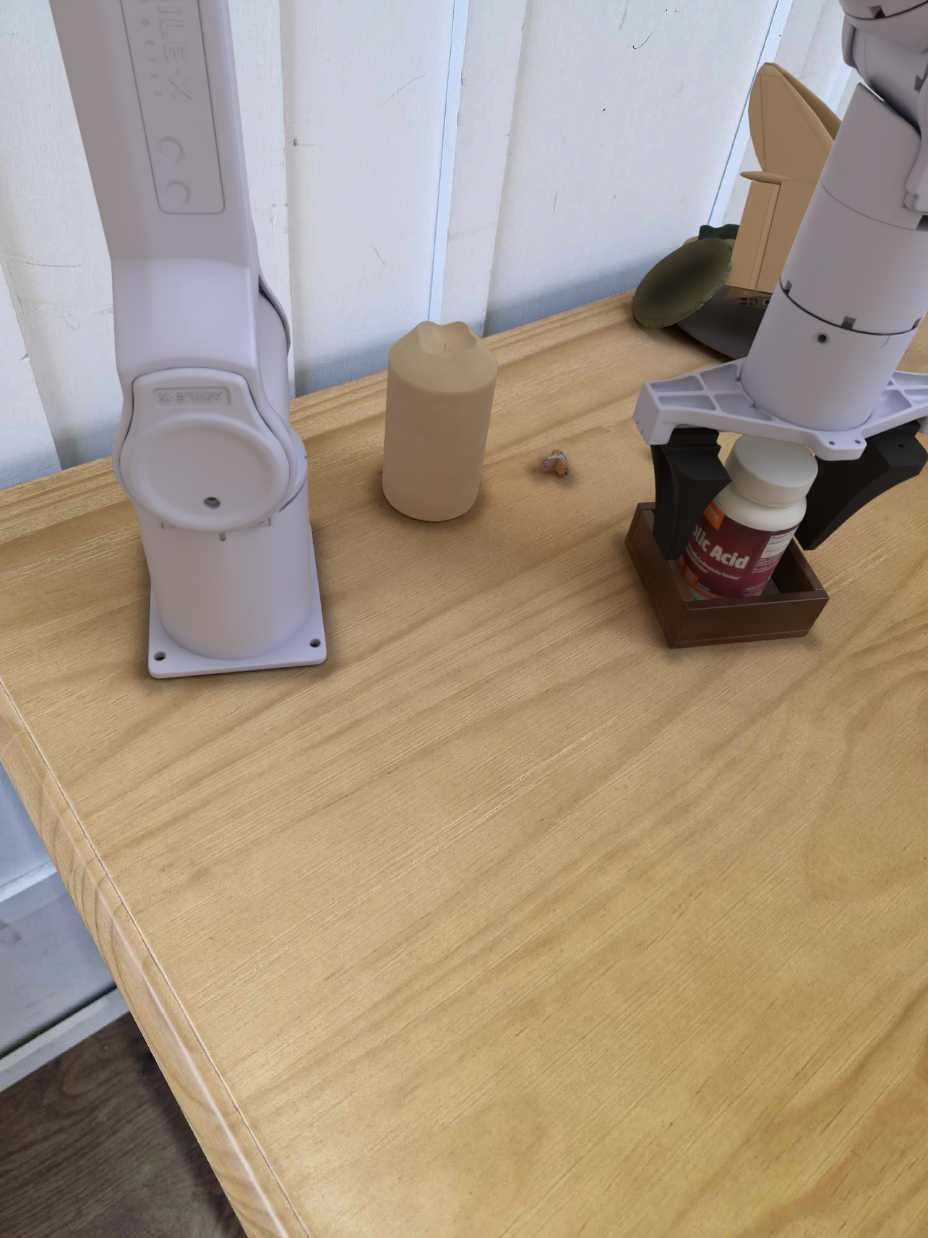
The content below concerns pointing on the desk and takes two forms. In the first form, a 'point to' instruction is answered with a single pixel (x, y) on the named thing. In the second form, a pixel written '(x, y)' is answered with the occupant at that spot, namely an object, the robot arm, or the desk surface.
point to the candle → (437, 420)
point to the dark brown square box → (693, 622)
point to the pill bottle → (749, 519)
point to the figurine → (557, 463)
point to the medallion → (682, 282)
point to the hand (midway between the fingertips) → (733, 541)
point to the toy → (766, 207)
